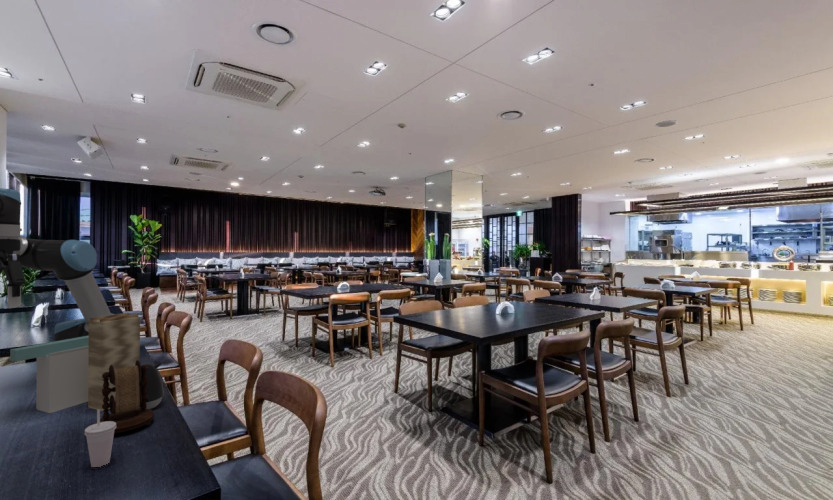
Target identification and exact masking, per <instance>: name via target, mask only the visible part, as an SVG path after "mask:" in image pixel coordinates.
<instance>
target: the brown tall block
mask: <svg viewBox="0 0 833 500" xmlns="http://www.w3.org/2000/svg"><path fill="white" fill-rule="evenodd" d="M140 359H141V317H140V316H139V314H138V313H135V314H130V312H124V313H117V314H116V313H115V315H109V316H102V317H95V318H90V321H89V363H88V402H87V407H88V408H89V409H93V410H96V411H97V410H98V409H100V412H103V410H104V409H102V405H103V404H104V403H103V399H104V396H103V394H102V389H103V388H104V387H103V384H104V381H103V379H104V378H102V374H103V373H105V372H109V367H110V365H113V367H114V370H115V369H121V368H126V367H131V366H135V363H136V361H137V360H139V361H140V362H141V360H140ZM108 382H109V388H113V387H115V386H114V385H113V384H111V383H110V380H108ZM111 395H113V396H114V400H115V401H116V391H115V392H112V391H111V393H109V395H108V397H109V399H110V396H111ZM108 403H109V402H108ZM108 409H109V410H110V407H109V408H108Z"/></svg>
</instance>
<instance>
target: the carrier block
mask: <svg viewBox="0 0 833 500" xmlns="http://www.w3.org/2000/svg"><path fill="white" fill-rule="evenodd" d="M88 363H89V346H85V347H80V348H75V349H70V350H65V351H60V352H55V353H50V354H48V355H47V356H42V357H37V358H36V386H35V387H36V394H35V395H36V396H35V397H36V399H35V401H36V403H35V404H36V406H35V408H36V410H37V411H40V412H43V413H48V414H52V413H55V412H59V411H62V410H64V409H68V408H71V407H74V406H78V405H81V404H84V403H88Z"/></svg>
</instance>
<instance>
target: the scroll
mask: <svg viewBox="0 0 833 500" xmlns="http://www.w3.org/2000/svg"><path fill="white" fill-rule="evenodd" d="M146 370H147V366H146V365H144V364H141V360H140V361H139V360H137V361H136V363H135V366H131V367H126V368H121V369H115V370H114V367H113V365H110V367H109V372H105V373H103V374H102V378H104V379H103V381H104V384H103V387H104V388H103V389H102V394H103V396H104V399H103V403H104V404H103V405H102V409H104V410H103V411H102V412H103V414H102V418H101V417H100V422H106V421H113V422H116V429H115V430H114V434H117V433H123V432H128V431H132V430H135V429H138V428H141V427H143V426H146V427H149V426H150V424H151V422H152V421H153V420H154V419H155V412H154V411H153V410H152V409H150V410H149V409H146V407H147V405H146V403H145V402H146V400H145V399H146V398H147V394H145V393H146V388H145V387H146V385H147V384H148V381H147V380H146V377H147V376H146V372H147V371H146ZM141 371H142V372H141ZM141 373H142V375H141ZM140 376H141V379H142V380H141V381H140V382H139V378H140ZM108 380H110V383H111V384H113V385H114V386H115V387H113V388H109V382H108ZM139 386H141V388H142V389H141V391H140V390H139ZM111 391H112V392H115V391H116V401H115V400H114V396H113V395H111V396H110V399H109V397H108V395H109V393H111ZM141 394H142V395H141ZM108 402H109V403H108ZM109 407H110V409H108V408H109ZM139 407H140V408H139ZM109 411H110V413H109ZM96 423H97V421H96V422H95V423H94V424H96Z"/></svg>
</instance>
